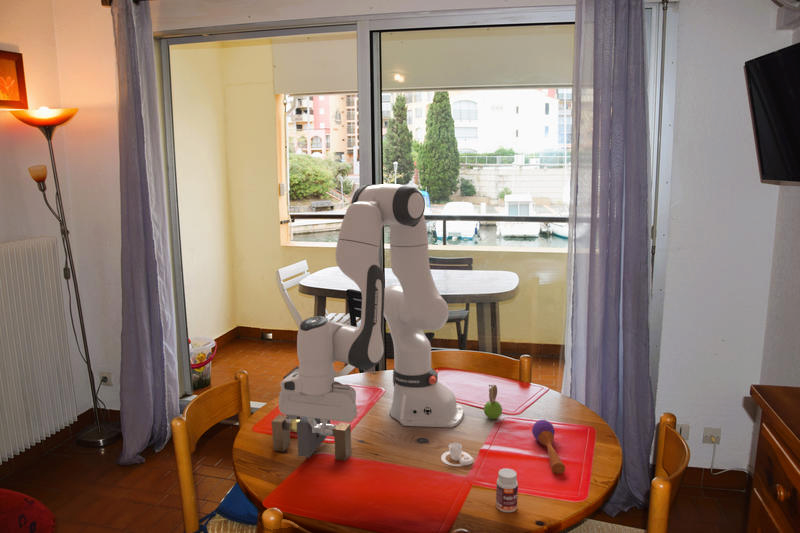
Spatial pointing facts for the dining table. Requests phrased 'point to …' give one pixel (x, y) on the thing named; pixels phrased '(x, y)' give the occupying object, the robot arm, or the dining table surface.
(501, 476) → the pill bottle
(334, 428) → the rod stand
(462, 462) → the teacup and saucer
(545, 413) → the dining table surface
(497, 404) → the green feathered ball toy
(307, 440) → the grey flat block
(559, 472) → the purple and brown maraca
